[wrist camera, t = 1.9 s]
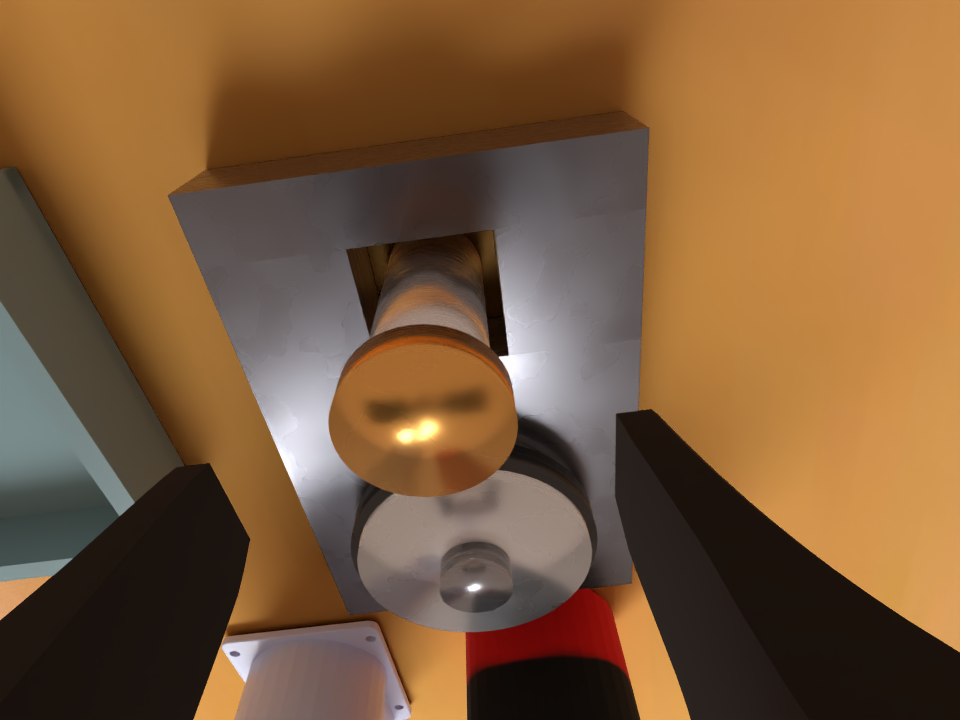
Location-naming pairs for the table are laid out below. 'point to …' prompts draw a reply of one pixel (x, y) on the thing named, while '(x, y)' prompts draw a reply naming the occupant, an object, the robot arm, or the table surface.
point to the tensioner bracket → (514, 338)
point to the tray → (62, 404)
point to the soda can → (551, 667)
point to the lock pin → (426, 379)
